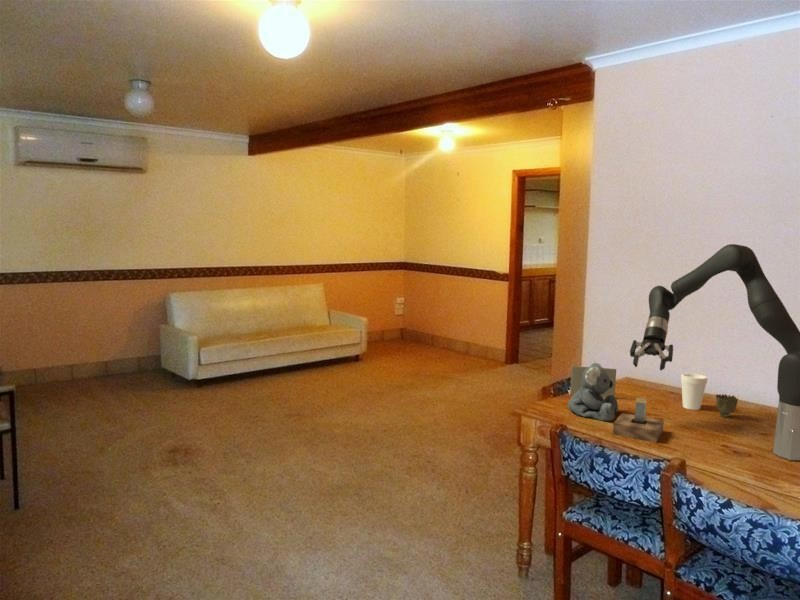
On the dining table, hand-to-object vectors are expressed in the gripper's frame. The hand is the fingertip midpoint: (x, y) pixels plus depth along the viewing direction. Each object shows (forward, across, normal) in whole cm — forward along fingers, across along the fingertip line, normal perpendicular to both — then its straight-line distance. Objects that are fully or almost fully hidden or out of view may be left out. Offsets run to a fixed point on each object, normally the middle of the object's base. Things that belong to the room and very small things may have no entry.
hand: (648, 367), depth 220 cm
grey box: (-8, -27, +38) cm, 48 cm away
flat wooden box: (+23, 0, +8) cm, 24 cm away
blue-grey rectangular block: (+22, 0, +8) cm, 24 cm away
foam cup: (-11, +12, +41) cm, 44 cm away
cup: (-7, +24, +37) cm, 45 cm away
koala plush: (+13, -19, +17) cm, 29 cm away
